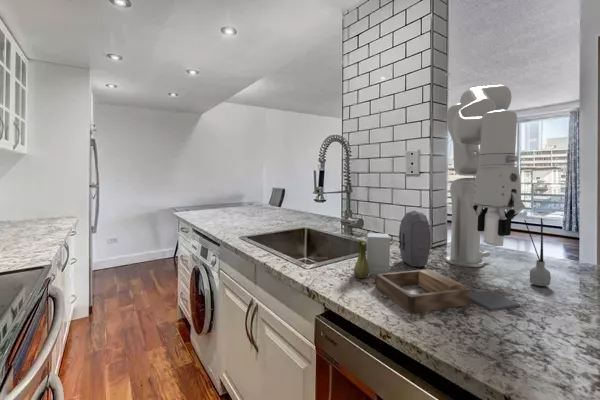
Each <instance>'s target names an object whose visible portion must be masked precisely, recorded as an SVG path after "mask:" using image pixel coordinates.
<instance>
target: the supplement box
mask: <svg viewBox="0 0 600 400" xmlns="http://www.w3.org/2000/svg"><path fill="white" fill-rule="evenodd" d="M390 247H391V237H390V235H389V233H379V232H378V233H370V232H367V233H366V259H367V262H368V266H369V275H370V274H371V275H375V274H383V273H390V249H391V248H390Z"/></svg>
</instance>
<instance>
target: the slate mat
mask: <svg viewBox="0 0 600 400" xmlns="http://www.w3.org/2000/svg"><path fill="white" fill-rule="evenodd" d="M470 302H473V303H475V304H477V305H479V306H481V307H483V308H485V309H487V310H489V311H498V310H503V309H505V310H506V309H510V308H511V309H512V308H517V307H521V303H520V302H517V301H514V300H511V299H510V298H507V297H505V296H504V295H503V296H502V295H501V294H499V293H495V292H493V291H491V290H485V291H477V292H476V291H475V292H471V293H470Z"/></svg>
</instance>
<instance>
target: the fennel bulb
mask: <svg viewBox="0 0 600 400" xmlns="http://www.w3.org/2000/svg"><path fill="white" fill-rule="evenodd" d="M366 247H367V242H365V241H364V240H359V241H358V256H357V260H356V262H355V265H354V268H353V274H354V276H355V277H356V278H357V279H365V278H368V277H369V275H370V274H369V266H368V262H367V251H366Z"/></svg>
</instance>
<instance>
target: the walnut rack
mask: <svg viewBox="0 0 600 400" xmlns="http://www.w3.org/2000/svg"><path fill="white" fill-rule="evenodd" d="M421 270H428V269H427V268H426V269H425V268H424V269H416V270H415V269H413V270H404V271H395V272H389V273H383V274H374V275H375V278H374V279H375V281H374V282H375V284H374V287H375V289H377V290H378V291H379V292H381V293H382V294H384V295H385V296H386V297H387V298H389V299H390V300H392V301H393V302H394V303H395V304H397V305H399V306H400V307H402V308H403V309H404V310H405V311H407V312H408V313H409V314H416V313H422V312H429V311H436V310H437V311H438V310H443V309H451V308H452V307H453V308H458V307H459V306H460V307H465V306H471V300H470V293H472V292H471V289H470V288H467V287H465V288H464V287H463V289H455V290H447V291H438V292H423V293H416V294H415V293H414V294H412V293H410V292H409V291H407V290H406V289H404V288H402V287H405V286H406V287H407V286H415V285H418V284H419V271H421ZM453 308H452V309H453Z"/></svg>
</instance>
